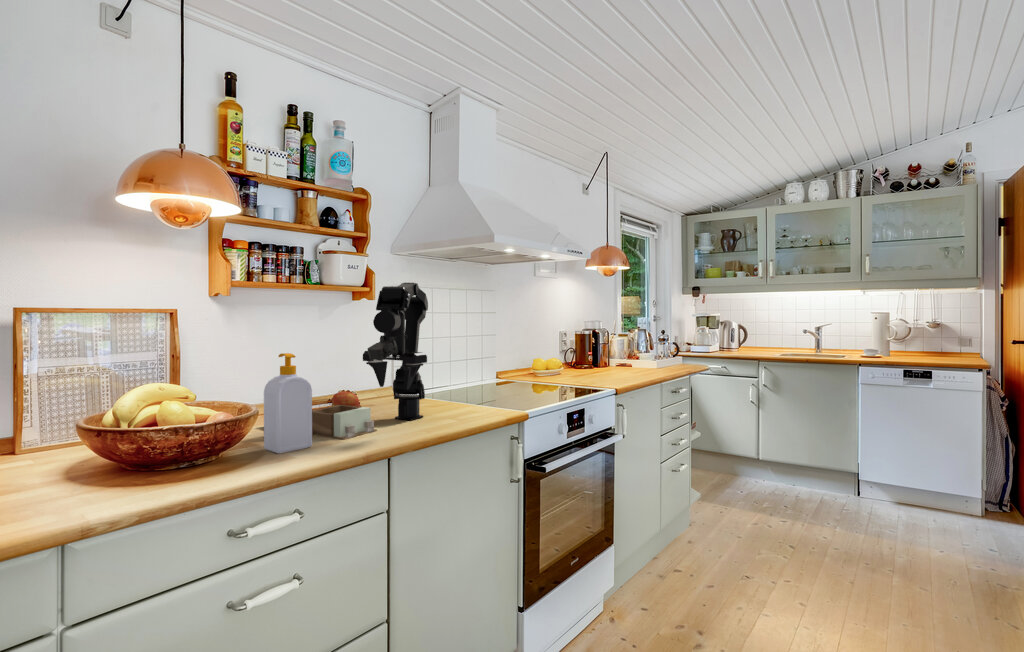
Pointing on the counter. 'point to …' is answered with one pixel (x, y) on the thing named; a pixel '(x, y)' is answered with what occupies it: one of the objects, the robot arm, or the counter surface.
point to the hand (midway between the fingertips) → (394, 388)
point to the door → (351, 420)
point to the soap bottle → (287, 410)
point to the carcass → (325, 422)
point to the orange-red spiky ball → (345, 399)
